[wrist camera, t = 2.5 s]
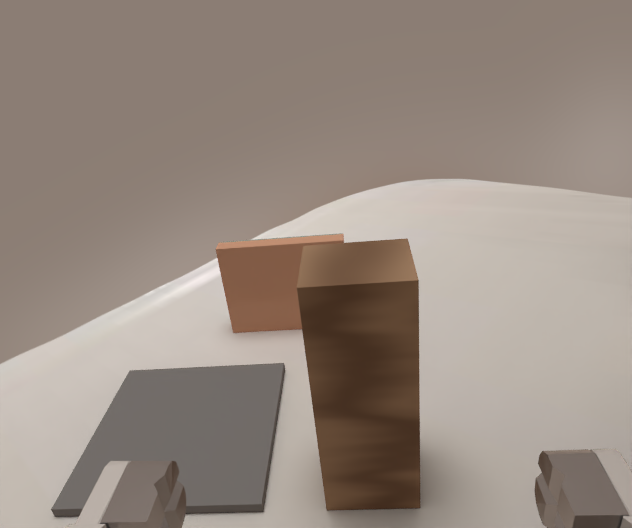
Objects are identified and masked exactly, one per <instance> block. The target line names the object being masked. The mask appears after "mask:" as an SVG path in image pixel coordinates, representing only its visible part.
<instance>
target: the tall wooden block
mask: <svg viewBox="0 0 632 528" xmlns="http://www.w3.org/2000/svg"><path fill="white" fill-rule="evenodd" d="M297 293H298V301H299V308H300V315H301V323H302V330H303V338H304V345H305V353H306V360H307V367H308V375H309V382H310V390H311V397H312V404H313V412H314V419H315V427H316V434H317V441H318V449H319V456H320V464H321V471H322V478H323V486H324V493H325V501H326V508H327V510H358V509H399V508H420V416H419V289H418V277H417V273H416V269H415V265H414V261H413V258H412V254H411V250H410V246H409V242H408V239H395V240H381V241H366V242H352V243H337V244H323V245H309V246H303V251H302V258H301V264H300V270H299V277H298V283H297Z"/></svg>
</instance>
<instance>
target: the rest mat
mask: <svg viewBox="0 0 632 528" xmlns="http://www.w3.org/2000/svg"><path fill="white" fill-rule="evenodd" d="M284 373H285V366H284V363H276V364H255V365H235V366H215V367H195V368H174V369H154V370H134V371H129V373H128V375H127V376H126V378H125V380H124V382H123V383H122V385H121V387H120V389H119V391H118V392H117V394H116V396H115V398H114V399H113V401H112V403H111V405H110V406H109V408H108V410H107V412H106V414H105V415H104V417H103V419H102V421H101V422H100V424H99V426H98V428H97V429H96V431H95V433H94V435H93V437H92V438H91V440H90V442H89V444H88V445H87V447H86V449H85V451H84V452H83V454H82V456H81V458H80V459H79V461H78V463H77V465H76V467H75V468H74V470H73V472H72V474H71V475H70V477H69V479H68V481H67V482H66V484H65V486H64V488H63V490H62V491H61V493H60V495H59V497H58V498H57V500H56V502H55V504H54V505H53V507H52V509H51V510H52V512H53V514H54V516H80V514H81V512H82V510H83V508H84V506H85V504H86V502H87V500H88V498H89V496H90V494H91V492H92V490H93V488H94V486H95V485H96V483H97V481H98V479H99V477H100V475H101V473H102V471H103V469H104V467H105V466H106V465H107V464H108V463H109V462H110V461H176V463H177V466H178V469H179V471H180V472H179V475H178V478H177V481H179V482H180V483H181V484H183V485H184V489H185V492H186V512H185V513H219V512H260V511H263V509H264V502H265V496H266V489H267V483H268V476H269V470H270V463H271V457H272V450H273V444H274V437H275V431H276V424H277V418H278V412H279V405H280V399H281V392H282V386H283V379H284Z"/></svg>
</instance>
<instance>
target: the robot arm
mask: <svg viewBox="0 0 632 528" xmlns="http://www.w3.org/2000/svg"><path fill="white" fill-rule="evenodd" d="M538 464H539V467H540V469H541V471H542V473H541V474H540V475H539V476H538V477H537V478H536V483H535V497H536V504H537V508H538V512H539V515H540V518H541V521H542V523H543V525H544V526H546V527H547V528H632V471H631V469H630V468H629V466H628V465H627V463H626V461H625V460H624V458H623V457H622V455H621V453H620V452H619V451H617V450H616V449H593V450H588V449H585V450H557V451H542V452H541V454H540V456H539V462H538ZM179 472H180V471H179V469H178V466H177V463H176V461H110V462H109V463H108V464H107V465H106V466H105V467H104V469H103V471H102V473H101V475H100V477H99V479H98V481H97V483H96V485H95V486H94V488H93V490H92V492H91V494H90V496H89V498H88V500H87V502H86V504H85V506H84V508H83V510H82V512H81V514H80V516H79V517H78V519H77V521H76V523H75V524H69V525H67V526H66V527H65V528H182V525H183V522H184V518H185V512H186V492H185V489H184V485H183V484H181V483H180V482H179V481H177V478H178V475H179Z"/></svg>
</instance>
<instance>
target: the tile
mask: <svg viewBox="0 0 632 528" xmlns="http://www.w3.org/2000/svg"><path fill="white" fill-rule="evenodd" d="M337 243H344V235H343V234H329V235H315V236H301V237H287V238H273V239H259V240H245V241H231V242H221V243H219V244H218V246H217V248H216V253H217V258H218V263H219V267H220V272H221V277H222V282H223V286H224V291H225V296H226V301H227V305H228V310H229V315H230V320H231V324H232V329H233V333H239V332H257V331H275V330H293V329H302V323H301V315H300V308H299V301H298V293H297V283H298V277H299V270H300V264H301V258H302V251H303V246H309V245H323V244H337Z"/></svg>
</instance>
